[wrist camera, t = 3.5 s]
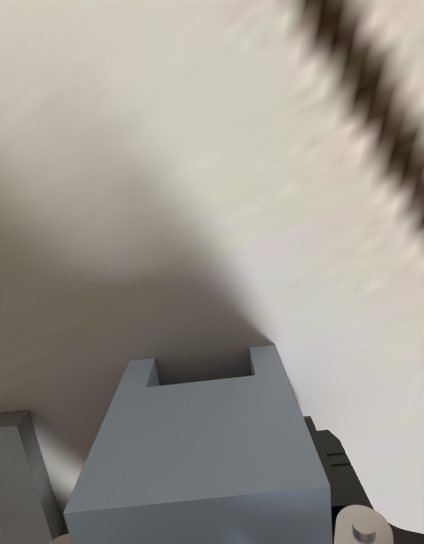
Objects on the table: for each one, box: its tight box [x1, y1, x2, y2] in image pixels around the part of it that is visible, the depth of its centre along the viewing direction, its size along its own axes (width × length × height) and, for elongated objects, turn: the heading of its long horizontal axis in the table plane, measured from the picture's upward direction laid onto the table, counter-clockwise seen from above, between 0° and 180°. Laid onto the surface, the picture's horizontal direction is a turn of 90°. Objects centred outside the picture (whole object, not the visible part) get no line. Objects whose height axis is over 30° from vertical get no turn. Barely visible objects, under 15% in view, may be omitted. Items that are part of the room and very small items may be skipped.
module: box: [63, 344, 332, 544], centre depth 10 cm, size 7×5×6 cm
